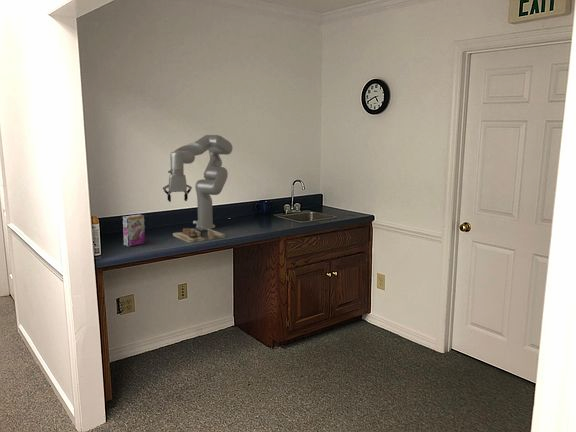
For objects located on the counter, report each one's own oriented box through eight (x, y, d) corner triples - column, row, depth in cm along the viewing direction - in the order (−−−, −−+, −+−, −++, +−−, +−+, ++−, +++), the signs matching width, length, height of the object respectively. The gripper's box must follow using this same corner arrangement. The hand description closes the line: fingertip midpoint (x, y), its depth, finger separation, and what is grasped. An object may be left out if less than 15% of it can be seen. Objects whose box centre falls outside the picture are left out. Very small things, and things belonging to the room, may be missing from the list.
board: (189, 242, 282) (189, 240, 282) (172, 235, 300) (172, 233, 300) (226, 237, 297) (226, 234, 296) (208, 230, 314) (208, 228, 314)
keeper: (202, 238, 287) (202, 230, 286) (195, 235, 294) (195, 227, 293) (207, 237, 289) (207, 229, 289) (201, 234, 296) (200, 227, 295)
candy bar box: (128, 247, 272) (127, 217, 269) (123, 245, 275) (121, 216, 272) (146, 243, 280) (144, 215, 277) (140, 242, 283) (139, 214, 280)
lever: (198, 237, 288) (197, 229, 287) (190, 238, 286) (190, 230, 285) (189, 231, 303) (189, 223, 303) (182, 232, 301) (182, 224, 301)
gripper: (163, 173, 286) (164, 202, 288) (193, 172, 293) (193, 201, 296) (161, 172, 292) (161, 200, 295) (189, 171, 300) (190, 199, 303)
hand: (177, 201), depth 295 cm, fingers open, 9 cm apart
